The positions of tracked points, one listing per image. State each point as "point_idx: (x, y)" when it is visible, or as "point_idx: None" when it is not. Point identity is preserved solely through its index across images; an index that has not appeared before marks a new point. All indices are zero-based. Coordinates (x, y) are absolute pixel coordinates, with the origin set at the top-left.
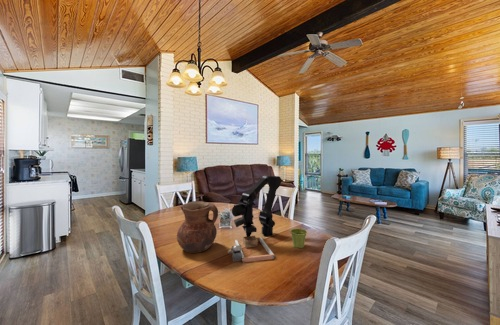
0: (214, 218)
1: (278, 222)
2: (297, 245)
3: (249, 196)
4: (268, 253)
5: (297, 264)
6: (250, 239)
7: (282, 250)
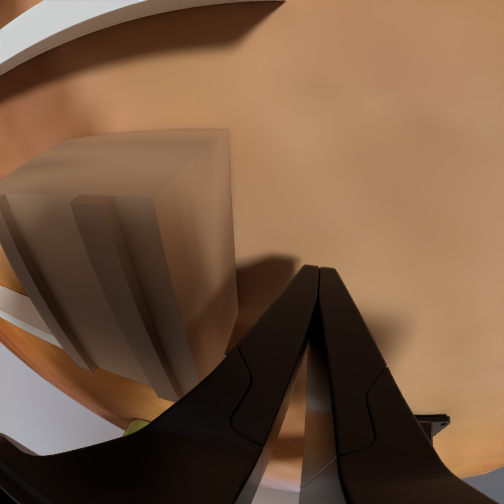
0: None
1: (484, 461)
2: (127, 429)
3: None
4: (25, 298)
5: (6, 334)
6: (31, 289)
7: (92, 373)
